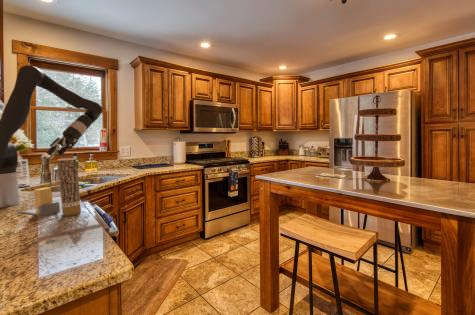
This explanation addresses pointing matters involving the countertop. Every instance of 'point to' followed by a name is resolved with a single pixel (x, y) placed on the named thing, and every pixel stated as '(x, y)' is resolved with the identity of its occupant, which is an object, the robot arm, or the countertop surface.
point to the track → (44, 209)
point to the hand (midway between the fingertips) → (53, 154)
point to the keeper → (42, 197)
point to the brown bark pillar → (69, 186)
